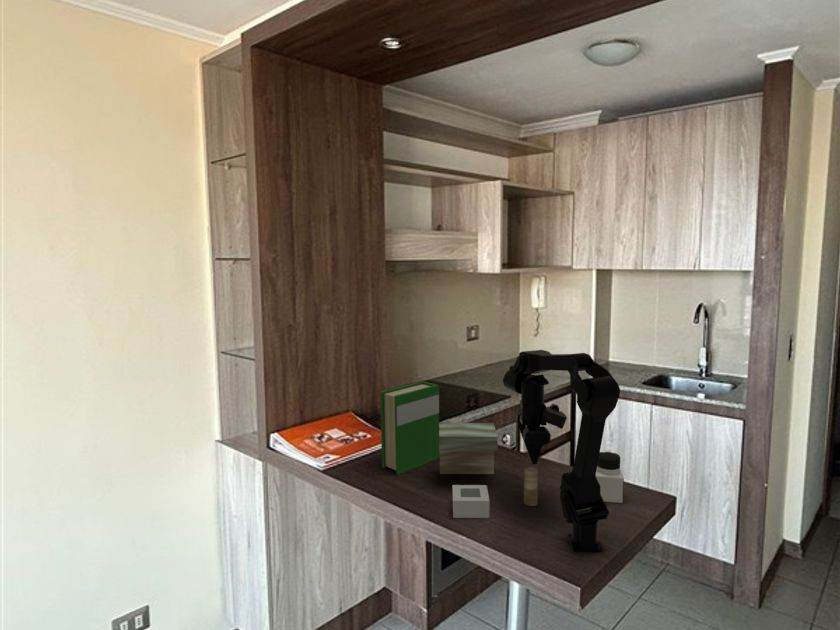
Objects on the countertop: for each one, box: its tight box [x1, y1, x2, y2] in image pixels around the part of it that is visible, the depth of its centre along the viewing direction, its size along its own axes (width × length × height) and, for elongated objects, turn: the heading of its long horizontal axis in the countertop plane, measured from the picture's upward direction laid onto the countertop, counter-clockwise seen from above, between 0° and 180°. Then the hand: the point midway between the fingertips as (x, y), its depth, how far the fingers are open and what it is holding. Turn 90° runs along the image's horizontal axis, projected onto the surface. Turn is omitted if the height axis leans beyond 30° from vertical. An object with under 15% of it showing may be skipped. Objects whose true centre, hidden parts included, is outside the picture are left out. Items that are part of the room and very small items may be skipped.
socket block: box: [452, 484, 490, 519], centre depth 141 cm, size 9×9×4 cm
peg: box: [523, 466, 539, 507], centre depth 144 cm, size 4×4×9 cm
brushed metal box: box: [439, 422, 498, 475], centre depth 158 cm, size 12×16×15 cm
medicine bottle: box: [596, 450, 625, 504], centre depth 147 cm, size 7×7×12 cm
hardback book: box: [379, 380, 440, 475], centre depth 171 cm, size 18×7×24 cm, turn 134°
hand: (531, 457), depth 143 cm, fingers open, 9 cm apart
